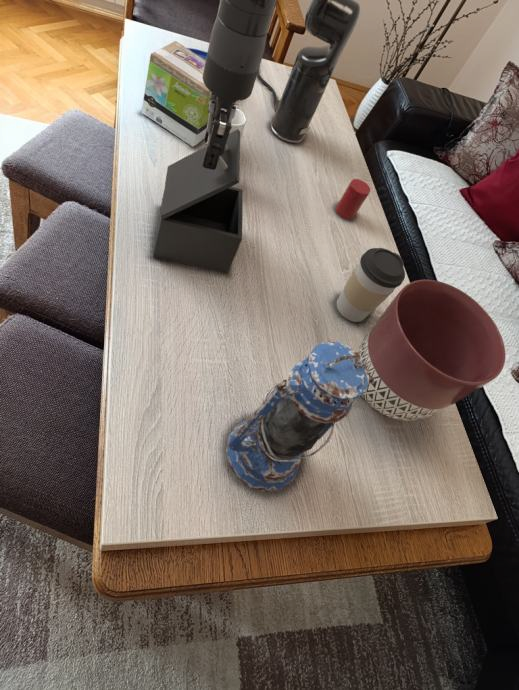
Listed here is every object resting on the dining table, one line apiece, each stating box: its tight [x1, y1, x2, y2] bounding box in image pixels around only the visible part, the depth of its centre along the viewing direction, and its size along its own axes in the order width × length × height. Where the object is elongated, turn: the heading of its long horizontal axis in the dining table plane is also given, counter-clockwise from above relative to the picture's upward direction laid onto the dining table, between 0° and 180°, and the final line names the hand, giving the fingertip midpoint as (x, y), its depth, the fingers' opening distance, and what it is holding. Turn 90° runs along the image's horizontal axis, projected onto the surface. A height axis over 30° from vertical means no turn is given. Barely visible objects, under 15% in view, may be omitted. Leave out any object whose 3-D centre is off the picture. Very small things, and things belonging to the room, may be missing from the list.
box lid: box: [161, 129, 241, 219], centre depth 86 cm, size 15×14×5 cm
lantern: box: [225, 340, 374, 493], centre depth 68 cm, size 15×12×30 cm
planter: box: [357, 279, 506, 422], centre depth 86 cm, size 20×20×21 cm
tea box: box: [141, 40, 211, 148], centre depth 113 cm, size 15×10×15 cm, turn 62°
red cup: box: [335, 178, 371, 221], centre depth 118 cm, size 5×5×8 cm
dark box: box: [152, 186, 244, 274], centre depth 96 cm, size 15×14×10 cm
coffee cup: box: [336, 247, 406, 323], centre depth 98 cm, size 9×9×15 cm
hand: (209, 154), depth 84 cm, fingers closed on box lid, 6 cm apart
